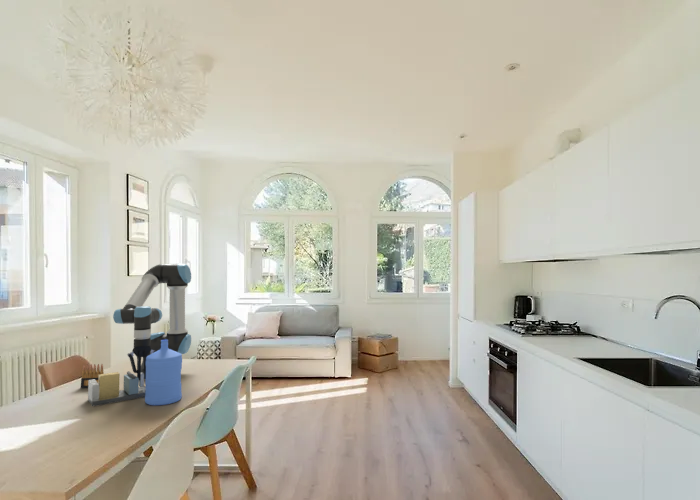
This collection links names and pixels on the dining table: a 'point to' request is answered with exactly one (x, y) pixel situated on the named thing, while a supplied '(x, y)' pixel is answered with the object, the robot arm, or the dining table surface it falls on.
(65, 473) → the dining table surface
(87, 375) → the ammunition clip
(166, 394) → the water jug
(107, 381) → the brass block
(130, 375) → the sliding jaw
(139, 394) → the grey l-shaped bracket
